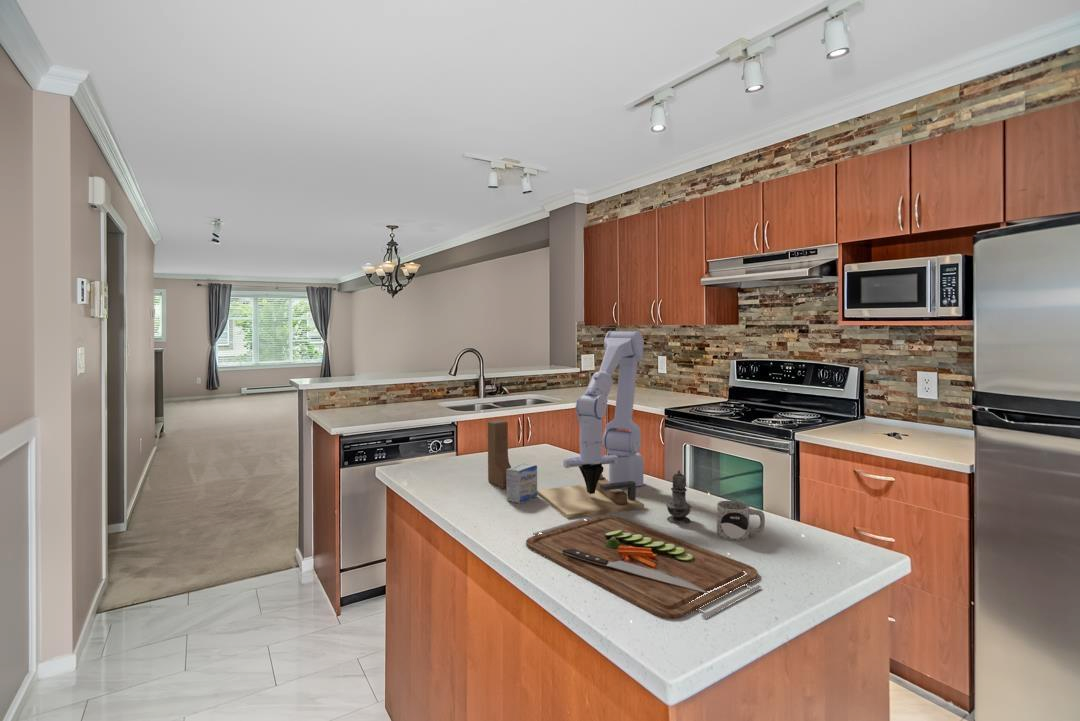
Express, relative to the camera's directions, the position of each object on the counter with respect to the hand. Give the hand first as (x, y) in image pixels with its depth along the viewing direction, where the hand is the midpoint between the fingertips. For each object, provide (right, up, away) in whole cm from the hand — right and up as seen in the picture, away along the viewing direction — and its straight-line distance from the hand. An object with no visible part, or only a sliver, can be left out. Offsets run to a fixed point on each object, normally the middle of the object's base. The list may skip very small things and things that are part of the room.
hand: (590, 492), depth 146 cm
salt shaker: (+19, -3, -14) cm, 24 cm away
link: (+5, -1, +2) cm, 6 cm away
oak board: (-1, -2, +1) cm, 2 cm away
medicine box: (-18, -2, +2) cm, 18 cm away
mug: (+30, -4, -24) cm, 39 cm away
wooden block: (-24, -2, +16) cm, 29 cm away
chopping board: (+5, -5, -36) cm, 36 cm away
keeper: (+7, -2, -3) cm, 8 cm away
